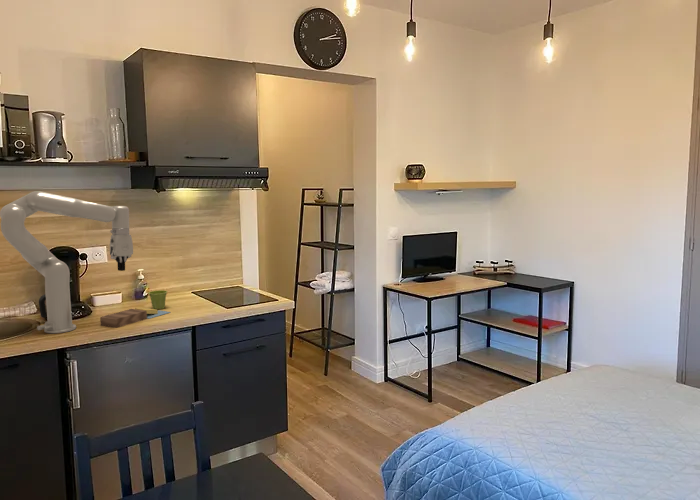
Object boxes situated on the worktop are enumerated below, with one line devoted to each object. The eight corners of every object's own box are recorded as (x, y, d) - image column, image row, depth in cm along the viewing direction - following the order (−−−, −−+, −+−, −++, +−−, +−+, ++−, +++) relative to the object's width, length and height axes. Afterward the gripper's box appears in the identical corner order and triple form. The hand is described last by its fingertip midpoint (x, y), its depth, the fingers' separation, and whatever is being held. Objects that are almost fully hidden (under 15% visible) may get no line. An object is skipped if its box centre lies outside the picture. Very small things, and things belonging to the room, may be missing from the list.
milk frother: (63, 316, 261) (61, 287, 260) (86, 319, 255) (84, 289, 253) (36, 323, 248) (34, 292, 247) (60, 326, 242) (58, 295, 240)
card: (143, 313, 256) (143, 309, 257) (134, 312, 259) (135, 308, 259) (157, 313, 265) (157, 309, 265) (148, 312, 267) (149, 308, 267)
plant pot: (155, 311, 271) (154, 294, 270) (145, 308, 278) (144, 292, 276) (171, 307, 278) (170, 291, 277) (162, 305, 285) (161, 289, 283)
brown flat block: (115, 327, 240) (115, 319, 239) (100, 325, 244) (100, 317, 244) (146, 318, 256) (146, 310, 255) (132, 316, 260) (131, 308, 260)
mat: (149, 318, 256) (149, 318, 256) (131, 316, 261) (131, 315, 261) (170, 312, 268) (170, 312, 268) (153, 310, 274) (153, 309, 273)
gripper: (112, 233, 241) (113, 272, 243) (139, 231, 255) (139, 269, 256) (101, 232, 245) (102, 271, 247) (128, 231, 258) (129, 268, 260)
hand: (121, 270), depth 252 cm, fingers closed
